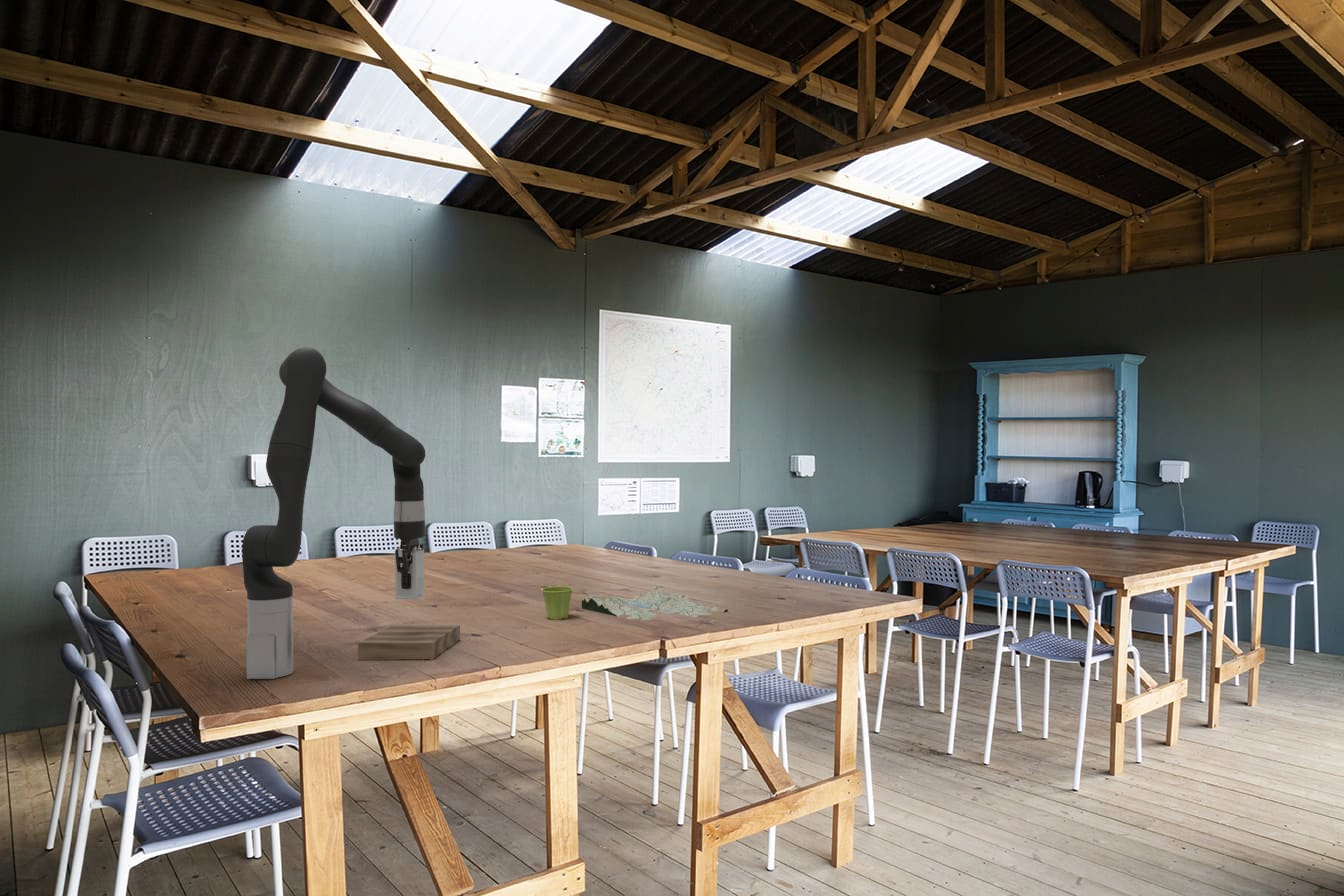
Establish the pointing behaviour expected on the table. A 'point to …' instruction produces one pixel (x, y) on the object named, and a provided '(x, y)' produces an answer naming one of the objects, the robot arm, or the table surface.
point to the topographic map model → (646, 605)
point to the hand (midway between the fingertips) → (410, 586)
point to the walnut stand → (409, 642)
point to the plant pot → (557, 601)
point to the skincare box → (412, 578)
